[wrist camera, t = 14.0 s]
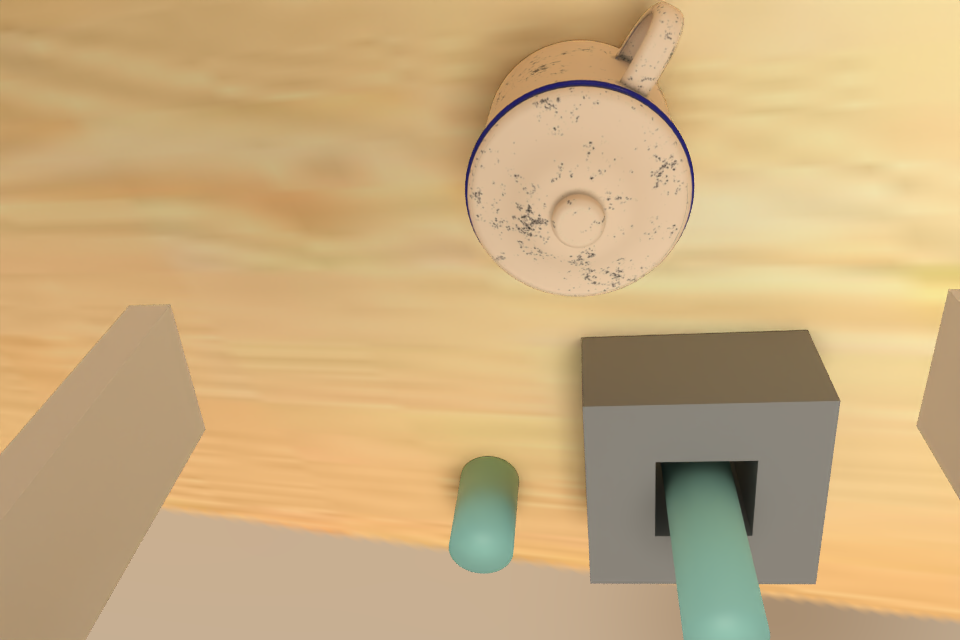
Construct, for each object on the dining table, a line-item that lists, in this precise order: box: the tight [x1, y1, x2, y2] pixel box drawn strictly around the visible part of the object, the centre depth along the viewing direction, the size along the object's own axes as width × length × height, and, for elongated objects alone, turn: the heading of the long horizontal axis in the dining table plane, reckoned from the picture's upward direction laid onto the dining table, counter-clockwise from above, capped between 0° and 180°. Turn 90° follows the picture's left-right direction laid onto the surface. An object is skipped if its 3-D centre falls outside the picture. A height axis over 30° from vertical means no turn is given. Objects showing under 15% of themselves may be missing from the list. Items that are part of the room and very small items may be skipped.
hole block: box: [582, 330, 840, 584], centre depth 47 cm, size 12×12×6 cm
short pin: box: [449, 456, 519, 573], centre depth 51 cm, size 4×4×6 cm
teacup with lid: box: [465, 2, 694, 296], centre depth 36 cm, size 12×9×12 cm
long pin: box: [661, 461, 770, 640], centre depth 43 cm, size 4×4×15 cm
